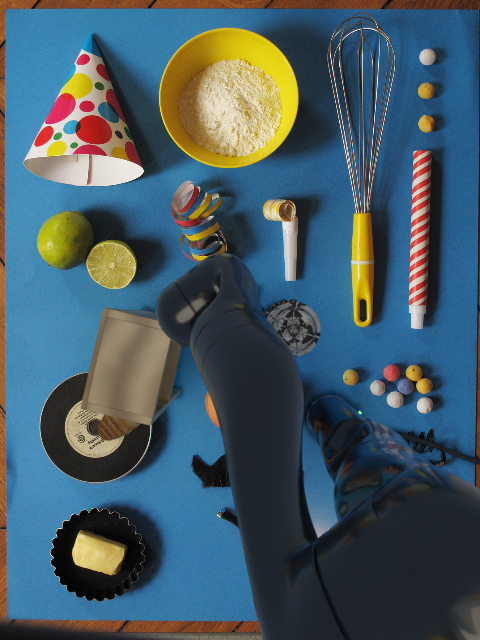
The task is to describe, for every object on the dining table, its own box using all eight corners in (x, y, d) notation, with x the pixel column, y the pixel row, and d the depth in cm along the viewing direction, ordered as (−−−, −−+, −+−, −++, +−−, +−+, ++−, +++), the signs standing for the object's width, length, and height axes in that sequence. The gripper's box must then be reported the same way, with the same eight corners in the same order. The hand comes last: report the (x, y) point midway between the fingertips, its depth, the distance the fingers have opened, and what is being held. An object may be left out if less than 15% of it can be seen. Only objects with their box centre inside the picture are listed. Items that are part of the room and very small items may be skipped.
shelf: (195, 322, 86) (174, 324, 62) (178, 395, 86) (150, 425, 62) (144, 310, 86) (103, 307, 62) (127, 383, 86) (80, 408, 62)
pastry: (112, 446, 86) (106, 452, 82) (92, 421, 86) (85, 425, 82) (148, 418, 86) (143, 423, 82) (127, 392, 86) (121, 396, 82)
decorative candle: (287, 294, 85) (303, 284, 60) (311, 332, 85) (338, 339, 60) (249, 318, 85) (249, 319, 60) (273, 356, 85) (284, 373, 60)
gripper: (162, 318, 59) (181, 317, 76) (261, 341, 59) (258, 335, 76) (174, 267, 59) (191, 277, 76) (273, 289, 59) (268, 295, 76)
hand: (224, 306), depth 76 cm, fingers closed on block, 5 cm apart
